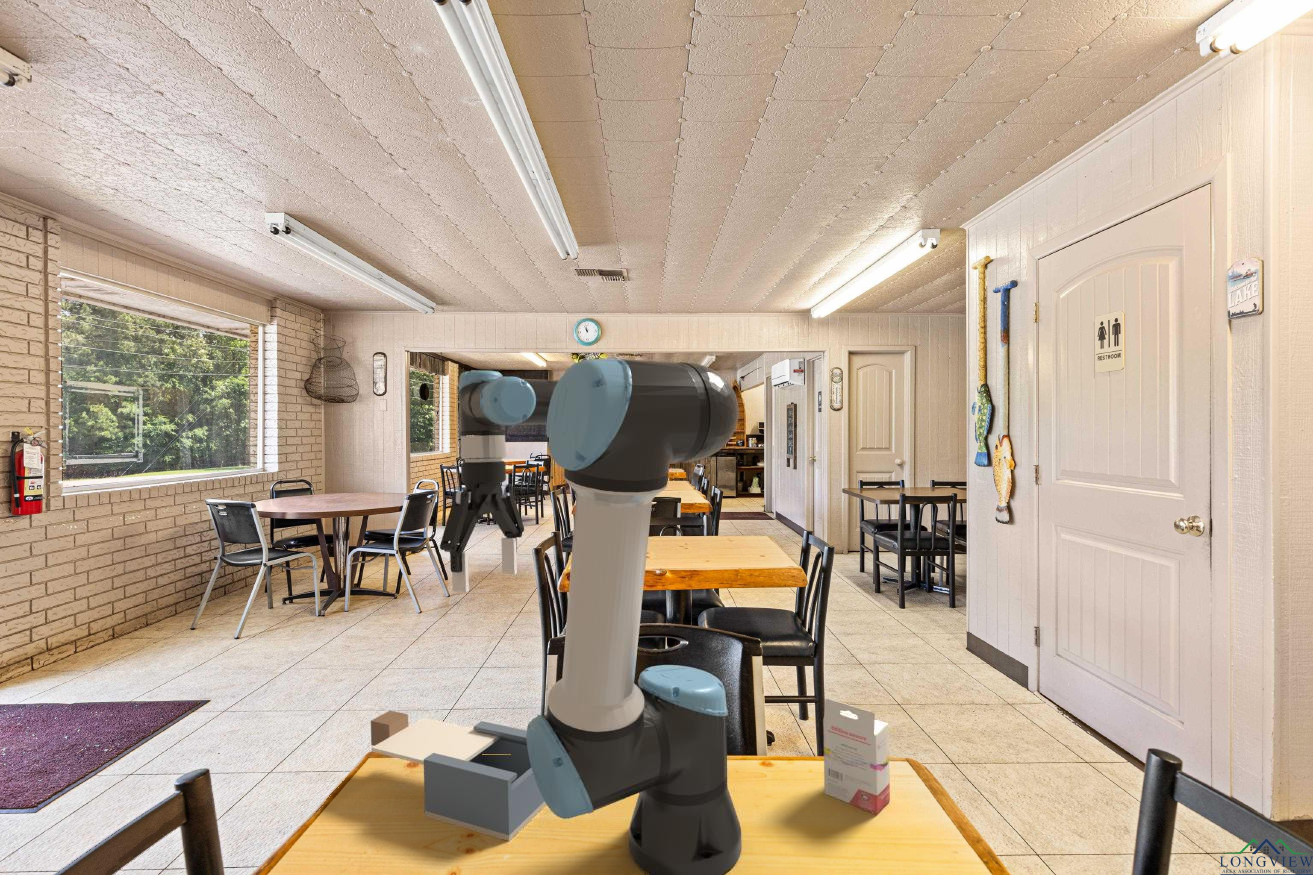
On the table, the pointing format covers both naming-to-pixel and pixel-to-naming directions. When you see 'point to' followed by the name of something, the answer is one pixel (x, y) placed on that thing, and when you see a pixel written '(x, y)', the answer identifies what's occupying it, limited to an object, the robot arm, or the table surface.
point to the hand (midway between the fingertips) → (486, 581)
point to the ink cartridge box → (856, 756)
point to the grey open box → (485, 786)
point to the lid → (426, 738)
